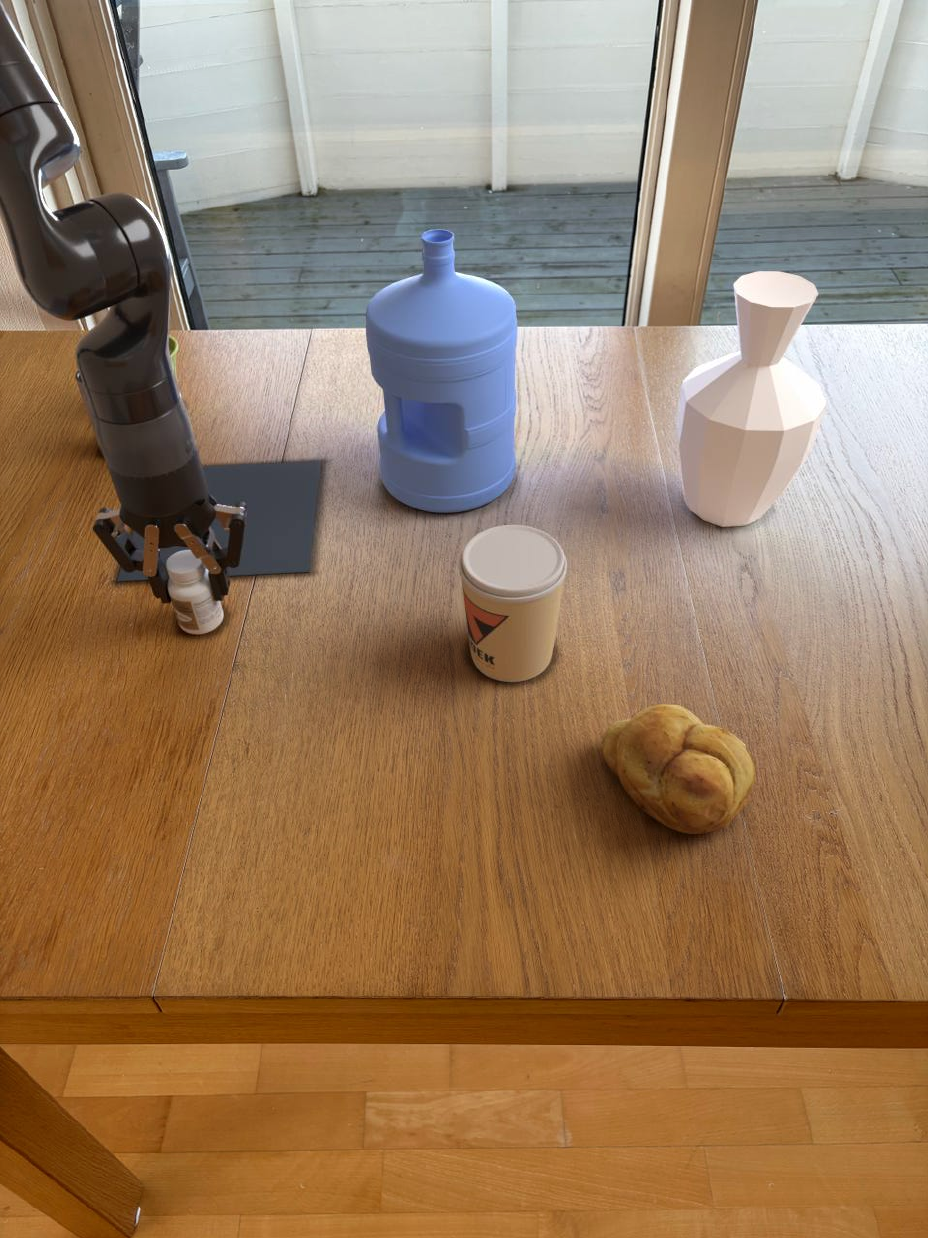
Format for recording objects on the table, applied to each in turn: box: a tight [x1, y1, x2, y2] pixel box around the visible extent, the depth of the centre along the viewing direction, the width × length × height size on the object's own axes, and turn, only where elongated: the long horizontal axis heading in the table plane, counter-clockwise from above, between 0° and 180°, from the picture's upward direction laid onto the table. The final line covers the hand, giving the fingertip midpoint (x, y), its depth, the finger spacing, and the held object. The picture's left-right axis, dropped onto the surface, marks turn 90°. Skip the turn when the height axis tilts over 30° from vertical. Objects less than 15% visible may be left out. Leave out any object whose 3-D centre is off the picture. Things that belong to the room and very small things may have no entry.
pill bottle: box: [166, 550, 224, 635], centre depth 91 cm, size 4×4×8 cm
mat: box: [116, 460, 322, 583], centre depth 106 cm, size 20×20×1 cm
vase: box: [675, 270, 828, 528], centre depth 97 cm, size 14×14×25 cm
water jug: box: [365, 228, 518, 514], centre depth 101 cm, size 16×16×28 cm
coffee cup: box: [458, 524, 568, 683], centre depth 86 cm, size 9×9×12 cm
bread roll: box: [601, 703, 756, 835], centre depth 76 cm, size 13×10×8 cm
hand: (194, 595), depth 92 cm, fingers closed on pill bottle, 4 cm apart
